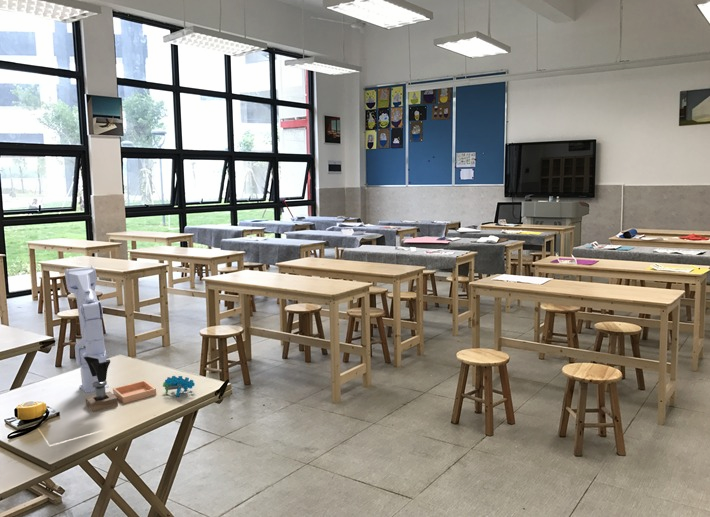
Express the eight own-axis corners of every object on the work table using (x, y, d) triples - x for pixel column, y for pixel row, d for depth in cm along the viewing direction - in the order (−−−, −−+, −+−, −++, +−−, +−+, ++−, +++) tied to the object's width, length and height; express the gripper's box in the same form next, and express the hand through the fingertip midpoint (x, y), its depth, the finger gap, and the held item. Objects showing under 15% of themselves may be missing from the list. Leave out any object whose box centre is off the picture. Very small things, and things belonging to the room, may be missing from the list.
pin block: (86, 406, 203) (85, 397, 202) (111, 399, 207) (110, 391, 207) (93, 413, 196) (91, 404, 196) (118, 406, 201) (117, 397, 201)
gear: (200, 384, 214) (186, 372, 206) (197, 400, 210) (183, 388, 202) (171, 387, 216) (157, 376, 208) (168, 403, 212) (153, 392, 205)
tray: (113, 395, 211) (112, 388, 211) (145, 387, 218) (144, 380, 218) (123, 404, 203) (122, 397, 202) (156, 395, 209) (155, 388, 209)
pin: (93, 404, 202) (90, 382, 201) (106, 401, 205) (104, 379, 204) (97, 408, 199) (94, 386, 197) (110, 405, 201) (108, 382, 200)
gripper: (75, 337, 201) (80, 376, 204) (87, 346, 190) (92, 387, 192) (97, 332, 206) (102, 370, 208) (110, 341, 194) (115, 381, 196)
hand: (99, 378), depth 200 cm, fingers open, 7 cm apart
